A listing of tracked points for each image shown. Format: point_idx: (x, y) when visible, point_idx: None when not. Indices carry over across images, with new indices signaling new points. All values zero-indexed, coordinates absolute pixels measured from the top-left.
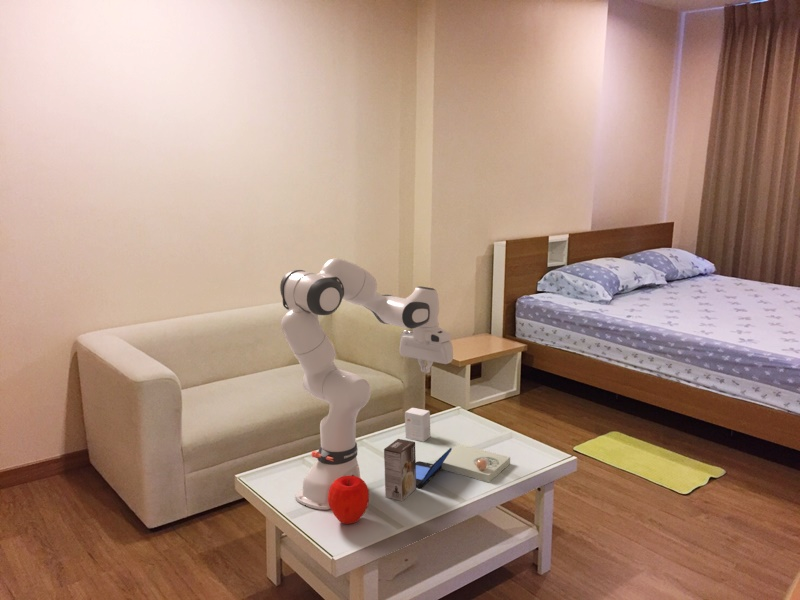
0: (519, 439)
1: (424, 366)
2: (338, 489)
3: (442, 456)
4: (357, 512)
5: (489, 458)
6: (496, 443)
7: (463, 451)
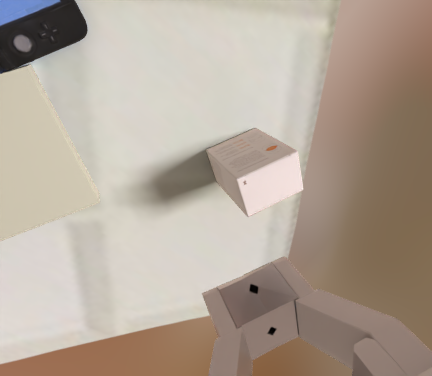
0: (68, 336)
1: (291, 328)
2: None
3: None
4: None
5: None
6: (80, 287)
7: (43, 184)
